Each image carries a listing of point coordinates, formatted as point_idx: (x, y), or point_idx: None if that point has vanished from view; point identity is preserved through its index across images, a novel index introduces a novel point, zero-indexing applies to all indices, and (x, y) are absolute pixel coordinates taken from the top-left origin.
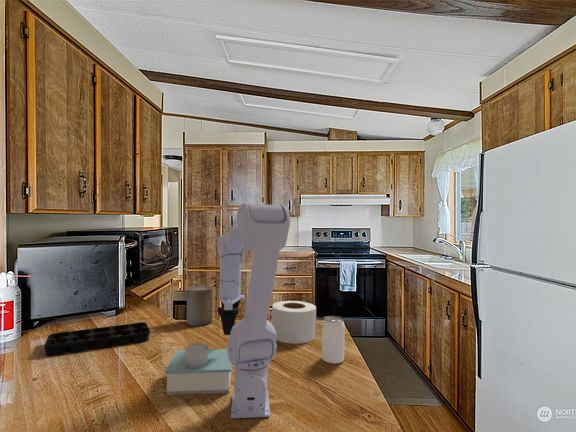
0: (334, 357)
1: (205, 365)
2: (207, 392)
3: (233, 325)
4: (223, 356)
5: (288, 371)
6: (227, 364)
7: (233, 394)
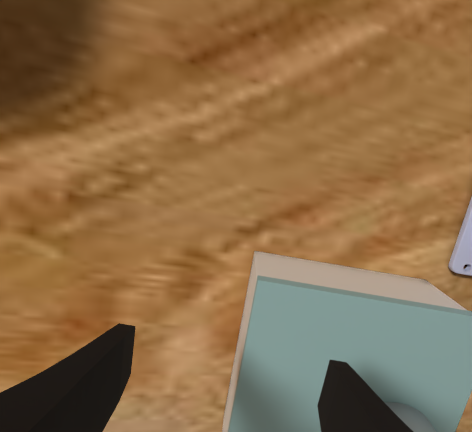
0: None
1: (421, 413)
2: None
3: (400, 422)
4: (341, 336)
5: (328, 12)
6: (439, 328)
7: (463, 272)
